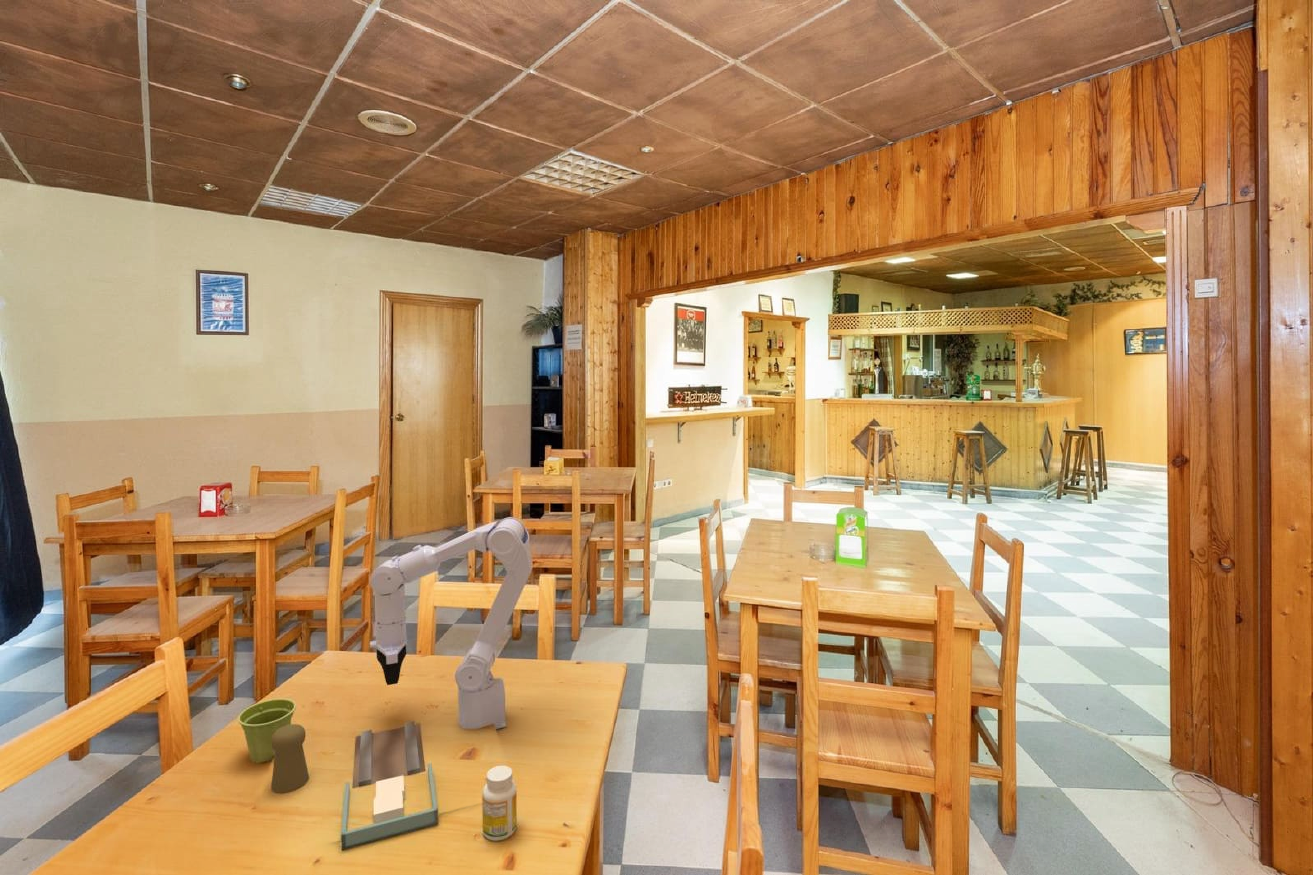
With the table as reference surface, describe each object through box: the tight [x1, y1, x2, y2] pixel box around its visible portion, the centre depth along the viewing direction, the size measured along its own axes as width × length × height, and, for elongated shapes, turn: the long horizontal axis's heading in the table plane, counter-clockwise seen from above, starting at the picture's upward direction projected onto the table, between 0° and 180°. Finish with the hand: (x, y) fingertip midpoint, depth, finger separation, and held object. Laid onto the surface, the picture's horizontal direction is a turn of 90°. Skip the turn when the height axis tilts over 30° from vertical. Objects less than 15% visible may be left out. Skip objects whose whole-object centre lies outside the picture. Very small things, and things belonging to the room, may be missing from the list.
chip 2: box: [372, 791, 404, 824], centre depth 101 cm, size 4×4×2 cm
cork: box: [270, 723, 310, 795], centre depth 107 cm, size 6×6×11 cm
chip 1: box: [375, 775, 406, 801], centre depth 105 cm, size 4×4×2 cm
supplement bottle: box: [481, 765, 518, 842], centre depth 98 cm, size 5×5×10 cm
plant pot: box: [237, 698, 297, 764], centre depth 117 cm, size 9×9×9 cm
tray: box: [340, 762, 439, 851], centre depth 102 cm, size 14×13×2 cm
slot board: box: [351, 720, 426, 789], centre depth 117 cm, size 12×17×2 cm
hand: (392, 682), depth 127 cm, fingers closed
